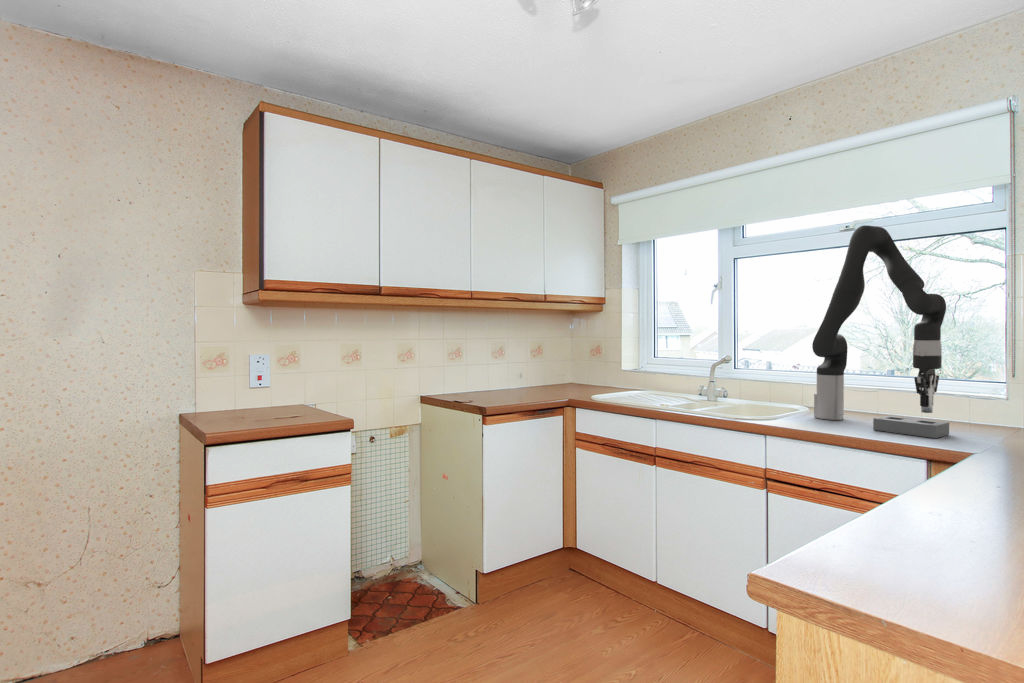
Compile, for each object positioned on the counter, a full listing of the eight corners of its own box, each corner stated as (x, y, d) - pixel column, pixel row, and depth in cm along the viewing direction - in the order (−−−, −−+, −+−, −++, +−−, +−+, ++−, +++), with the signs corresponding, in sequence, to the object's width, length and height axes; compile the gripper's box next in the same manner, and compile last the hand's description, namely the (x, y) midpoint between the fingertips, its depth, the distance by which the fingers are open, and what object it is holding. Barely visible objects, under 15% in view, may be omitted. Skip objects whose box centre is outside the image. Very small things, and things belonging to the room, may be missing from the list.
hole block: (873, 429, 188) (873, 418, 188) (887, 426, 194) (887, 415, 194) (935, 438, 173) (936, 425, 173) (949, 434, 179) (949, 422, 179)
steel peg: (919, 412, 180) (919, 385, 180) (923, 411, 182) (923, 384, 181) (930, 413, 177) (930, 385, 177) (934, 412, 179) (934, 385, 179)
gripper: (922, 353, 186) (921, 403, 186) (904, 354, 178) (904, 406, 179) (949, 353, 180) (948, 405, 180) (932, 355, 172) (931, 409, 172)
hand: (926, 405), depth 179 cm, fingers closed on steel peg, 3 cm apart
